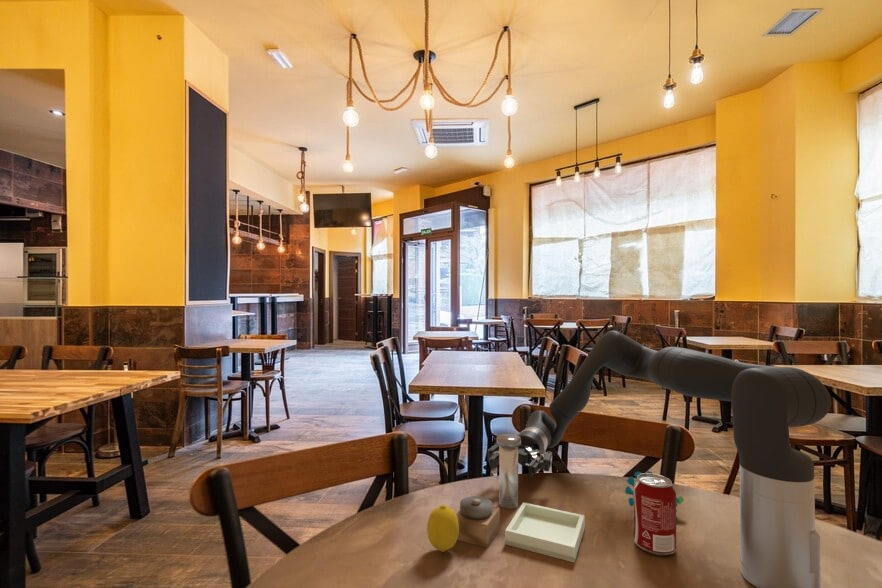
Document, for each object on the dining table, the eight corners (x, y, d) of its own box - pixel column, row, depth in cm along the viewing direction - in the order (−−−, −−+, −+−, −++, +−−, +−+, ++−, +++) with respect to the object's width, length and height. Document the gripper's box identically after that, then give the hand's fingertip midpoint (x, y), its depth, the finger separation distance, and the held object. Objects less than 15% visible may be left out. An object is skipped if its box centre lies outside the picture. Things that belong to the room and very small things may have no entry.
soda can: (681, 561, 72) (681, 489, 72) (638, 556, 74) (638, 485, 74) (669, 539, 79) (668, 473, 79) (629, 535, 80) (629, 470, 80)
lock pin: (523, 501, 93) (523, 436, 93) (517, 512, 89) (517, 443, 89) (500, 496, 96) (500, 432, 96) (493, 506, 91) (493, 439, 91)
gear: (627, 512, 85) (625, 464, 92) (620, 522, 90) (619, 476, 96) (688, 527, 83) (682, 476, 90) (678, 537, 87) (673, 488, 94)
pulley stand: (499, 529, 82) (499, 496, 82) (487, 547, 76) (487, 512, 76) (465, 520, 85) (466, 489, 85) (451, 538, 79) (451, 504, 79)
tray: (584, 528, 82) (584, 515, 82) (574, 562, 72) (574, 547, 72) (523, 514, 88) (523, 502, 88) (505, 544, 77) (505, 530, 77)
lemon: (437, 539, 78) (437, 495, 78) (464, 548, 75) (464, 502, 76) (420, 554, 74) (421, 507, 74) (448, 565, 71) (449, 516, 71)
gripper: (502, 426, 111) (480, 445, 97) (558, 434, 105) (543, 455, 90) (502, 456, 111) (480, 478, 96) (558, 465, 105) (543, 491, 90)
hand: (510, 467), depth 93 cm, fingers open, 8 cm apart
